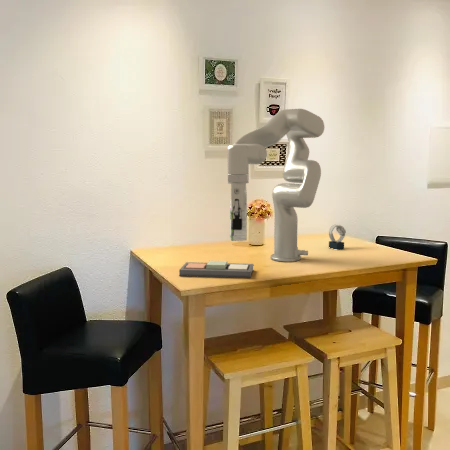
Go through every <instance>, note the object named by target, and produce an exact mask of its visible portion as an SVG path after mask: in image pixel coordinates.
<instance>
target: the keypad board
mask: <svg viewBox="0 0 450 450" xmlns="http://www.w3.org/2000/svg"><path fill="white" fill-rule="evenodd" d="M189 263H196V262H191V261H190V262H188V261H187V262H186V261H185V262H184V264H182V266H181V267H180V268H179V271H178V272H179V275H178V276H179V277H192V276H195V277H197V276H198V278H199V277H200V278H202V277H203V278H231V279H232V278H233V279H251V277H252V274H253V271H254V264H253V263H241V264H242V265H248V270H228V268H229V266H230V264H236V263H231V262H229V263H228V262H227V266H226V268H225V269H185V267H186V266H187V265H188V264H189ZM200 263H201V264H206V265H207V263H208V262H200Z"/></svg>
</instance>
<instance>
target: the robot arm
mask: <svg viewBox="0 0 450 450" xmlns="http://www.w3.org/2000/svg"><path fill="white" fill-rule="evenodd" d="M324 131H325V123H324V120H323V119H322V118H321V116H319V115H317V114H315V113H313V112H312V111H309V110H307V109H304V108H289V109H288V108H287V109H281V110H279V111H278V112H277V113H275V115H273V116H272V117H271V118H270V119H269V120H268V121H267V122H266V123H265V124H264V125H263V126H261V127H259V128H256V129H254V130H253V131H250V132H248V133H246V134H245V135H243V136H241V137H240V138H238V139H237V141H235V142H234V143H233V144H230V145H229V146H227V184H229V185H230V200H231V208H232V211H234V212H233V230H242V219H241V210H243V211H245V210H246V205H245V202H247V203H248V201H247V199H248V195H247V184H249V180H250V179H249V177H250V176H249V175H250V174H249V173H250V172H249V165H259V164H262V163H264V162H265V161H266V159H267V157H268V151H267V147H271V146H274V145H276V144H278V143H279V142H280V141H281V140H282V139H283V138H284V137H285V136H286V137H287V141H288V144H289V151H288V154H287V158H286V161H285V163H284V167H283V172H282V177H283V179H284V180H285V181H286V182H284V183H283V182H282V183H278V184H276V185H274V187H273V189H272V194H271V197H272V202H273V203H272V204H273V209H274V210H273V212H274V225H273V226H274V230H273V231H274V232H273V233H274V235H273V236H274V237H273V238H274V239H273V240H274V242H273V244H274V245H273V253H272V254H271V255H270V259H271V260H272V261H276V262H283V263H284V262H285V263H286V262H291V263H292V262H297V261H300V260H301V258H302V257H301V256H309V251H308V250H305V249H299V247H298V221H299V219H298V213H297V212H296V210H295V208H299V209H300V208H303V209H306V208H310V206H312V204H313V203H314V200H315V198H316V196H317V191H318V188H319V184H320V182H321V181H320V180H321V176H322V169H321V165H320V163H319V162H318V161H317V160H313V159H309V158H310V148H309V146H308V144H307V143H306V141H305V139H309V138H311V139H315V138H316V139H317V138H319V137H321V136H322V135H324ZM234 205H235V206H234ZM233 207H234V209H233ZM238 209H240V210H238ZM239 212H240V213H239Z"/></svg>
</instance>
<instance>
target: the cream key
mask: <svg viewBox="0 0 450 450" xmlns="http://www.w3.org/2000/svg"><path fill="white" fill-rule="evenodd" d="M242 264H243V263H235V264H230V266H229V268H228V270H248V265H242Z"/></svg>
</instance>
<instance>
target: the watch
mask: <svg viewBox="0 0 450 450" xmlns="http://www.w3.org/2000/svg"><path fill="white" fill-rule="evenodd" d="M334 229H336V232H337V233H338V235H339V236H340V237H339V238H338V239H337V240H336V239H335V236H334V233H333V231H334ZM346 233H347V232H346V229H345V227H344V226H343V225H341V224H332V225H331V227H330V228H329V230H328V237H329V239H330V241H328V248H329V247H330V248H329V249H331V248H333V249H332V250H334V249H341V250H345V242H343V240H344V239H345V237H346Z"/></svg>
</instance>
